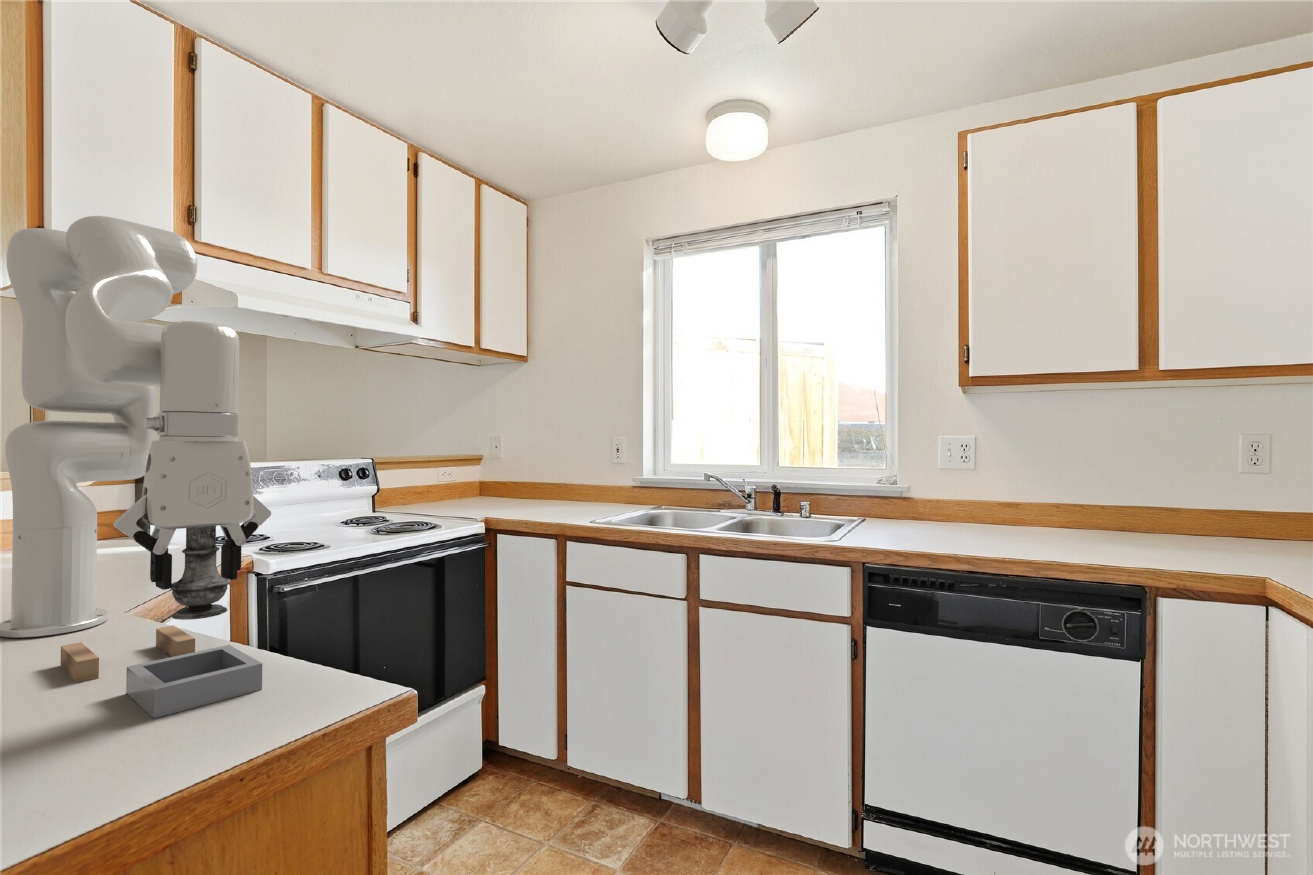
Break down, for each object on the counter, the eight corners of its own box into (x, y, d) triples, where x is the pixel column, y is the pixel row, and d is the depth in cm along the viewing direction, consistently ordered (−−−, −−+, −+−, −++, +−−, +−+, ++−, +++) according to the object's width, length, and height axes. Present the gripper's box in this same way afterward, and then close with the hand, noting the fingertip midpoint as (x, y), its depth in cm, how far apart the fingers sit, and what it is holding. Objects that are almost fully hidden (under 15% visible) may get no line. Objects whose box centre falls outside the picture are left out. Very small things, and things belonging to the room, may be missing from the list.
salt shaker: (198, 622, 71) (200, 513, 71) (154, 618, 72) (156, 511, 72) (242, 608, 77) (244, 508, 77) (201, 605, 78) (202, 506, 78)
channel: (60, 665, 83) (60, 646, 83) (172, 642, 92) (173, 625, 92) (77, 682, 77) (77, 661, 77) (194, 656, 87) (195, 638, 87)
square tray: (126, 693, 74) (126, 666, 74) (228, 668, 82) (228, 644, 82) (154, 718, 68) (154, 689, 68) (261, 689, 76) (262, 663, 76)
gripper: (114, 427, 66) (111, 602, 66) (291, 430, 80) (289, 575, 80) (95, 427, 71) (93, 590, 71) (266, 430, 84) (264, 567, 84)
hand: (197, 581), depth 75 cm, fingers closed on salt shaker, 5 cm apart
